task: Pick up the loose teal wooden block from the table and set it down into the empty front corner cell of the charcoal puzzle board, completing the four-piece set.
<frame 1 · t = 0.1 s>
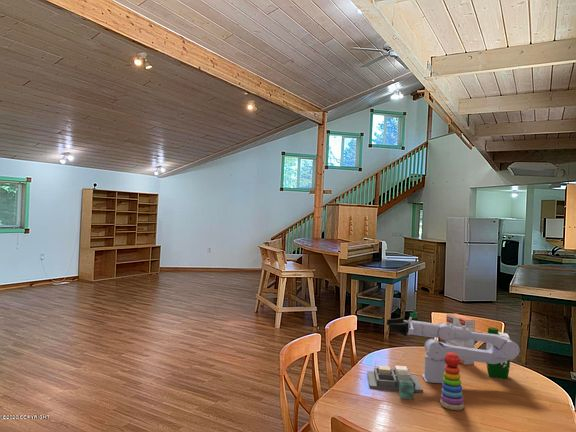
hand: (388, 324, 174), 22 cm above the table, tool horizontal, fingers open, 7 cm apart
milk carton: (497, 376, 179), on the table
stacking toy: (451, 406, 147), on the table
teal block: (406, 396, 154), on the table
puzzle board: (393, 382, 167), on the table
cracker box: (459, 360, 198), on the table
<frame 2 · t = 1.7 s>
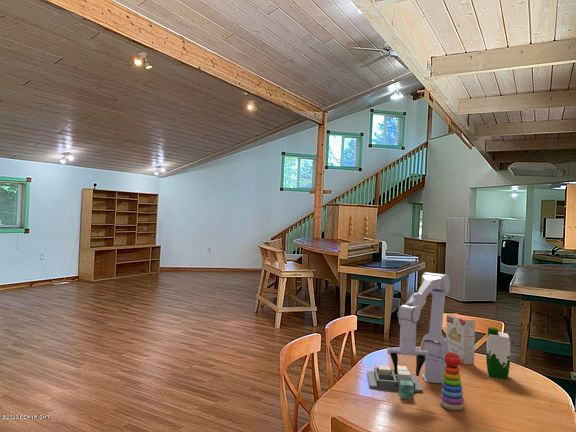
hand: (406, 374, 154), 8 cm above the table, tool pointing down, fingers open, 7 cm apart
nothing on the table moved.
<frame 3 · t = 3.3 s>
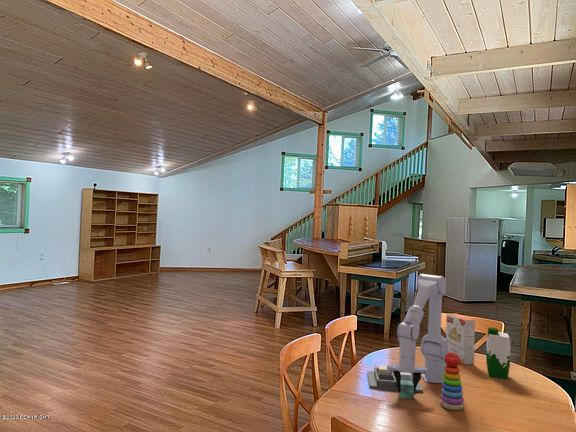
hand: (406, 392, 154), 1 cm above the table, tool pointing down, fingers closed on teal block, 4 cm apart
teal block: (406, 396, 154), on the table, touching gripper
everything else where it was.
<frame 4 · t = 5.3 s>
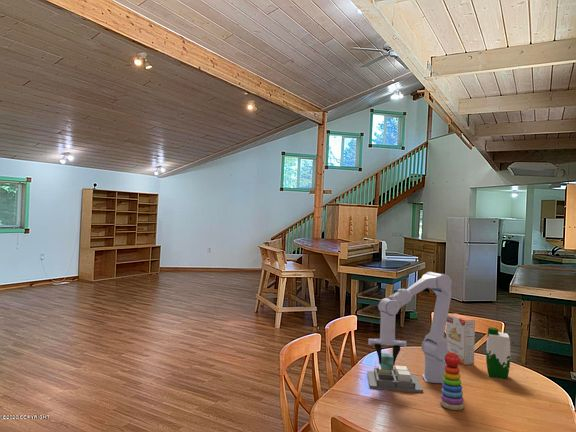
hand: (386, 363, 164), 8 cm above the table, tool pointing down, fingers closed on teal block, 4 cm apart
teal block: (386, 367, 164), point 7 cm above the table, touching gripper
everything else where it was.
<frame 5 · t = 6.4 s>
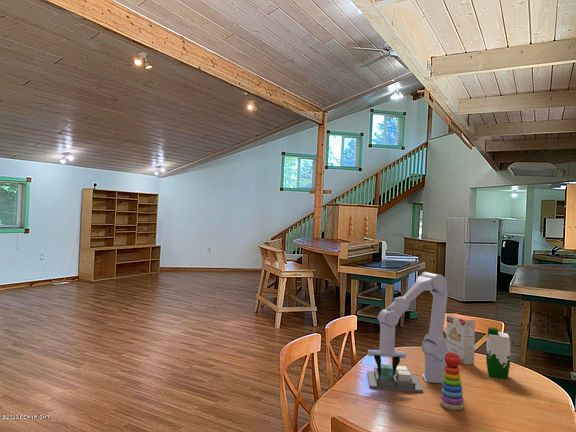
hand: (386, 375, 164), 4 cm above the table, tool pointing down, fingers closed on teal block, 4 cm apart
teal block: (386, 379, 164), point 2 cm above the table, touching gripper
everything else where it was.
when the fingers open (4 cm above the table, at t = 7.2 s): teal block drops 1 cm, resting on puzzle board.
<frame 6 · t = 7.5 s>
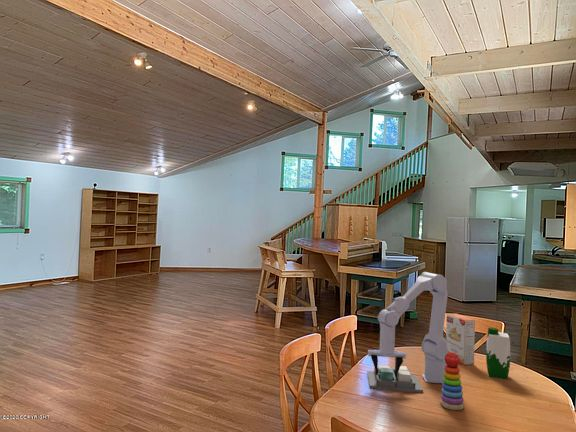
hand: (386, 375, 164), 4 cm above the table, tool pointing down, fingers open, 7 cm apart
teal block: (385, 382, 164), point 1 cm above the table, touching puzzle board
everything else where it was.
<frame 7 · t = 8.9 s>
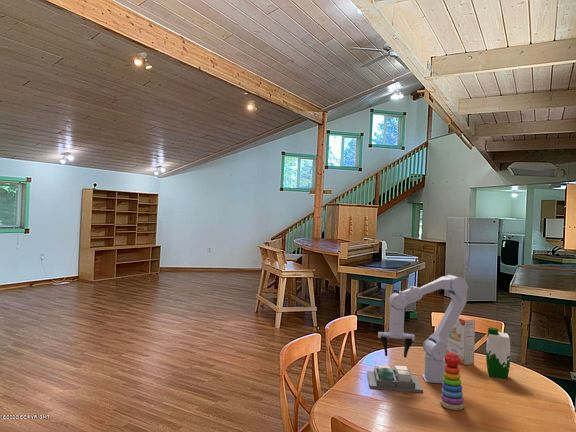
hand: (395, 356, 171), 9 cm above the table, tool pointing down, fingers open, 7 cm apart
nothing on the table moved.
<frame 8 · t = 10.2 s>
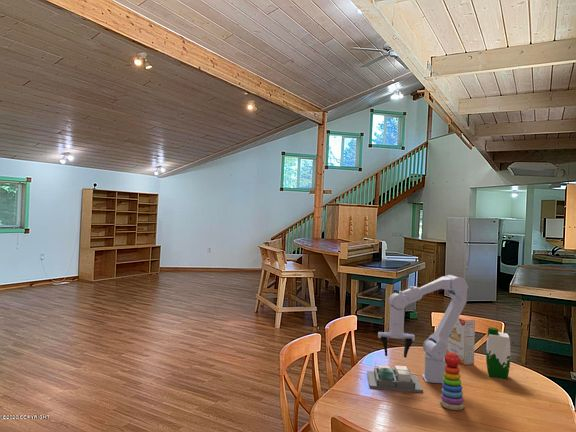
hand: (395, 356, 171), 9 cm above the table, tool pointing down, fingers open, 7 cm apart
nothing on the table moved.
at the end: teal block 0.2 cm from the target spot on the puzzle board, point 1.0 cm above the puzzle board's base; teal block tilted 0°; the gripper is holding nothing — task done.
